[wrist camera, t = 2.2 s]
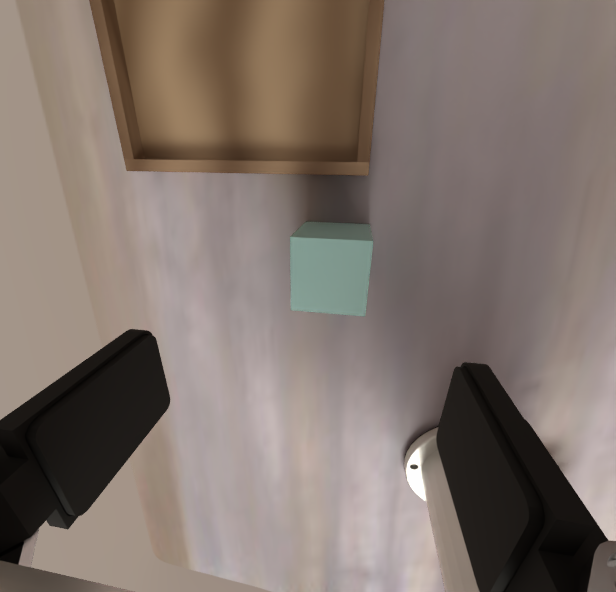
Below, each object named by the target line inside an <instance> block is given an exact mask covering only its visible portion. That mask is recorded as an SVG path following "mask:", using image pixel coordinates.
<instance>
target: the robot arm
mask: <svg viewBox="0 0 616 592" xmlns="http://www.w3.org/2000/svg"><path fill="white" fill-rule="evenodd" d="M169 404H170V395H169V391H168V387H167V383H166V378H165V374H164V370H163V366H162V362H161V357H160V353H159V349H158V345H157V341H156V338H155V337H154V336H152V333H151V332H149V331H146V330H135V329H130V330H128V331H126V332H125V333H123V334H122V335H120V336H119V337H118V338H116V339H115V340H113V341H112V342H110V343H109V344H108V345H106V346H105V347H103V348H102V349H100V350H99V351H98V352H96V353H95V354H93V355H92V356H91V357H89V358H88V359H86V360H85V361H83V362H82V363H81V364H79V365H78V366H76V367H75V368H74V369H72V370H71V371H69V372H68V373H67V374H65V375H64V376H62V377H61V378H60V379H58V380H57V381H55V382H54V383H52V384H51V385H49V386H48V387H47V388H45V389H44V390H42V391H41V392H40V393H38V394H37V395H35V396H34V397H33V398H31V399H30V400H28V401H27V402H25V403H24V404H23V405H21V406H20V407H18V408H17V409H15V410H14V411H13V412H11V413H10V414H8V415H7V416H5V417H4V418H3V419H1V420H0V592H134V591H130V590H125V589H121V588H117V587H113V586H108V585H104V584H100V583H96V582H91V581H87V580H83V579H78V578H74V577H69V576H65V575H61V574H57V573H52V572H48V571H43V570H39V569H34V568H31V563H32V559H33V555H34V550H35V545H36V541H37V536H38V531H39V527H40V526H41V525H42V524H43V523H44V522H45V521H46V520H47V522H48V524H49V525H50V526H55V527H60V528H64V529H69V527H70V526H71V525H72V524H73V523H74V521H75V520H76V519H77V517H78V516H80V515H83V514H84V513H85V512H86V511H87V510H88V509H89V508H90V507H91V505H92V504H93V503H94V502H95V500H96V499H97V498H98V497H99V495H100V494H101V493H102V491H103V490H104V489H105V488H106V486H107V485H108V483H110V481H111V480H112V479H113V477H114V476H115V475H116V474H117V472H118V471H119V470H120V469H121V467H122V466H123V465H124V463H125V462H126V461H127V460H128V458H129V457H130V456H131V455H132V453H133V452H134V451H135V450H136V448H137V447H138V446H139V445H140V443H141V442H142V441H143V439H144V438H145V437H146V436H147V434H148V433H149V432H150V431H151V429H152V428H153V427H154V425H155V424H156V423H157V422H158V420H159V419H160V418H161V417H162V415H163V414H164V413H165V412H166V410H167V409H168V407H169ZM405 473H406V478H407V481H408V483H409V485H410V487H411V488H412V489H413V491H414V492H415V493H416V494H417V495H418V496H419V497H421V498H422V499H423V500H425V501H426V502H427V507H428V511H429V516H430V521H431V526H432V531H433V535H434V540H435V545H436V550H437V555H438V560H439V564H440V569H441V574H442V579H443V584H444V589H445V592H616V541H608V539H607V538H606V536H605V535H604V533H603V532H602V530H601V529H600V527H599V526H598V525H597V523H596V522H595V520H594V519H593V517H592V516H591V514H590V513H589V511H588V510H587V508H586V507H585V505H584V504H583V502H582V501H581V499H580V498H579V496H578V495H577V493H576V492H575V491H574V489H573V488H572V486H571V485H570V483H569V482H568V480H567V479H566V477H565V476H564V474H563V473H562V471H561V470H560V468H559V467H558V465H557V464H556V462H555V461H554V459H553V458H552V457H551V455H550V454H549V452H548V451H547V449H546V448H545V446H544V445H543V443H542V442H541V440H540V439H539V437H538V436H537V434H536V433H535V431H534V430H533V428H532V427H531V426H530V424H529V423H528V422H527V421H526V420H525V419H524V418H523V417H522V415H521V414H520V412H519V411H518V409H517V408H516V406H515V405H514V403H513V402H512V400H511V399H510V397H509V396H508V394H507V393H506V391H505V390H504V388H503V387H502V385H501V384H500V382H499V381H498V379H497V378H496V376H495V375H494V373H493V372H492V370H491V369H490V367H489V366H488V365H486V364H477V363H467V362H464V363H463V364H462V365H461V367H456V368H455V369H454V372H453V376H452V379H451V383H450V387H449V390H448V394H447V398H446V401H445V405H444V409H443V412H442V416H441V420H440V423H439V427H437V428H435V429H433V430H430V431H428V432H426V433H425V434H423V435H422V436H420V437H419V438H418V439H417V440H416V441H415V442H414V443H413V444H412V445H411V446H410V448H409V449H408V451H407V453H406V456H405Z"/></svg>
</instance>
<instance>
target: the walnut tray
mask: <svg viewBox="0 0 616 592" xmlns="http://www.w3.org/2000/svg"><path fill="white" fill-rule="evenodd" d="M89 1H90V5H91V10H92V14H93V19H94V24H95V28H96V33H97V37H98V42H99V46H100V51H101V56H102V60H103V65H104V69H105V74H106V78H107V83H108V87H109V92H110V97H111V101H112V106H113V110H114V115H115V119H116V124H117V129H118V133H119V138H120V142H121V147H122V151H123V156H124V160H125V165H126V170H127V171H161V172H213V173H265V174H318V175H368V173H369V162H370V151H371V140H372V129H373V119H374V108H375V97H376V86H377V75H378V65H379V54H380V43H381V32H382V21H383V10H384V0H89Z"/></svg>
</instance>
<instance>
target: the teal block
mask: <svg viewBox="0 0 616 592" xmlns="http://www.w3.org/2000/svg"><path fill="white" fill-rule="evenodd" d="M372 249H373V237H372V233H371V229H370V224H354V223H330V222H307V221H306V222H305V223H304V224H303V225H302V226H301V227H300V228H299V229H298V230H297V231H296V232H295V233H294V234H293V235H292V236H291V237H290V278H291V310H295V311H306V312H318V313H330V314H341V315H353V316H365V314H366V304H367V295H368V286H369V277H370V268H371V258H372Z"/></svg>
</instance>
